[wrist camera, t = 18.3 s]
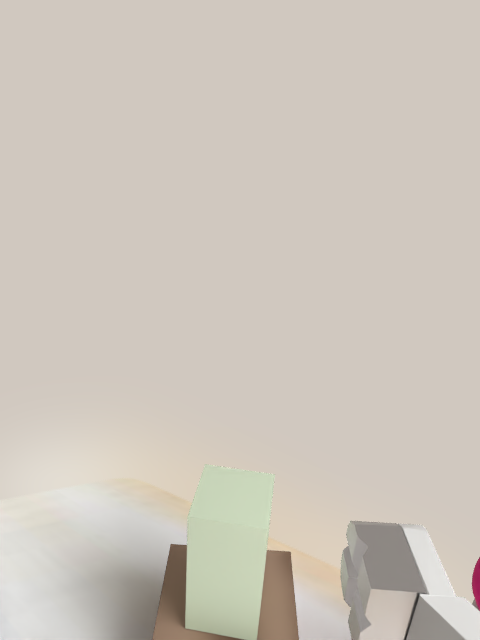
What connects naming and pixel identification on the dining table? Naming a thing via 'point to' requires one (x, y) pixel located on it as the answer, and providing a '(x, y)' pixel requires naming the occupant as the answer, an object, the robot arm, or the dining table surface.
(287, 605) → the walnut block
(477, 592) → the pepper mill
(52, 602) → the dining table surface
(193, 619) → the sage block
